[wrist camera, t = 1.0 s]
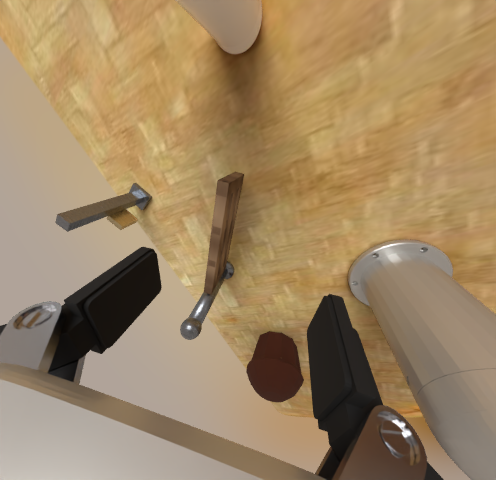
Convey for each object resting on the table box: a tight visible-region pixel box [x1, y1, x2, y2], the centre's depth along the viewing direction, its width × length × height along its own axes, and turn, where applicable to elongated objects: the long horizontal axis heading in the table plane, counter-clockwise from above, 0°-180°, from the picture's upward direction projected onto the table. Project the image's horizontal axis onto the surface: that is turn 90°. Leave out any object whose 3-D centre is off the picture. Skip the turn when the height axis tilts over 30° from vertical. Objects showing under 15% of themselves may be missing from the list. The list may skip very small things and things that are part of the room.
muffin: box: [247, 331, 304, 402], centre depth 37 cm, size 12×11×10 cm
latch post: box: [56, 183, 152, 231], centre depth 25 cm, size 5×3×12 cm
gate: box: [204, 172, 244, 294], centre depth 25 cm, size 16×1×6 cm, turn 167°
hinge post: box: [180, 261, 234, 340], centre depth 28 cm, size 4×4×14 cm
